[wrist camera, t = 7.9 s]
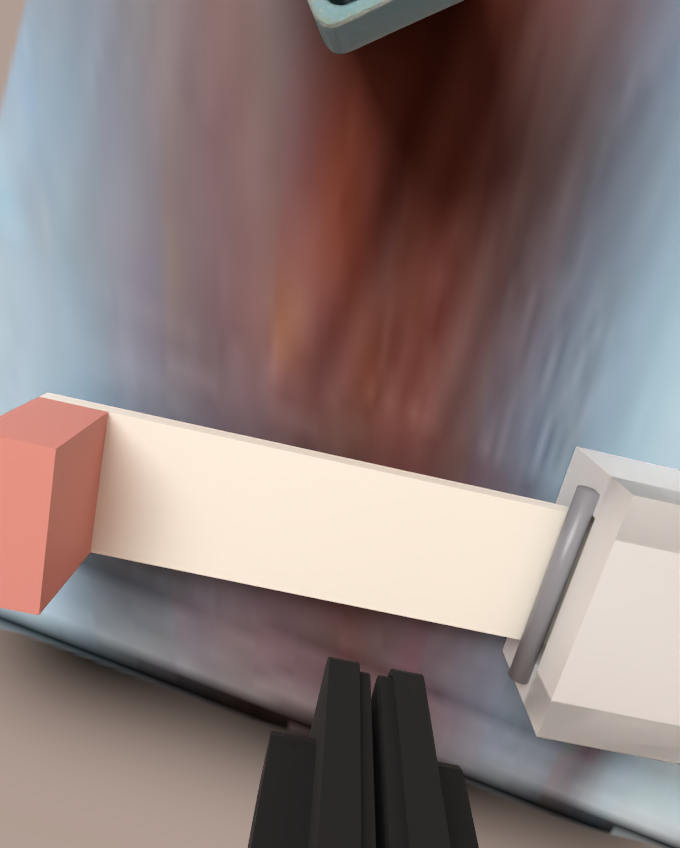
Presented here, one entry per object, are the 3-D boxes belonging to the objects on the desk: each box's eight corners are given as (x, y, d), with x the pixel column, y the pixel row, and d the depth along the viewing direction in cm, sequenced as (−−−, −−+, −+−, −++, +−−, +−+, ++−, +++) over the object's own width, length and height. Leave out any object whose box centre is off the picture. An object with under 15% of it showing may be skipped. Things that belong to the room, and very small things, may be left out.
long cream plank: (600, 513, 28) (663, 578, 23) (552, 637, 30) (599, 725, 25) (47, 392, 27) (-30, 430, 21) (34, 531, 29) (-40, 599, 23)
